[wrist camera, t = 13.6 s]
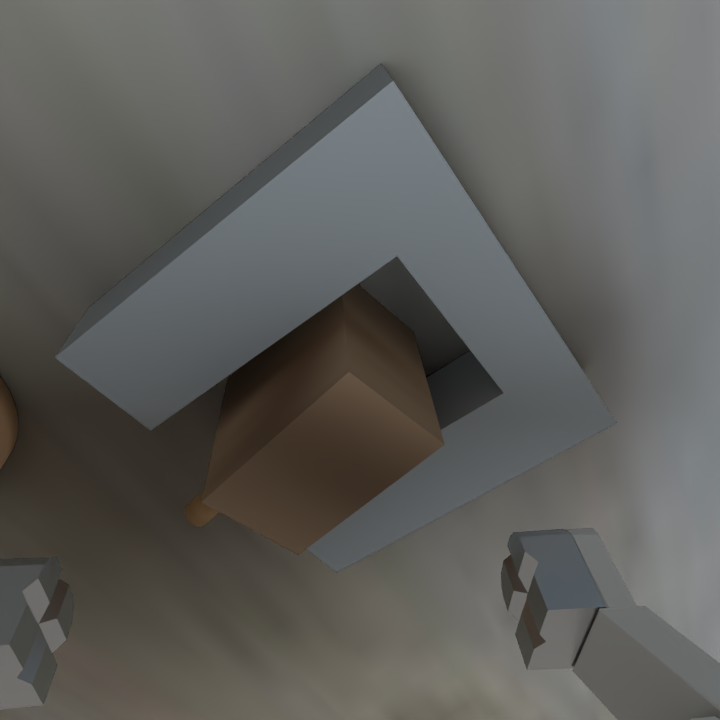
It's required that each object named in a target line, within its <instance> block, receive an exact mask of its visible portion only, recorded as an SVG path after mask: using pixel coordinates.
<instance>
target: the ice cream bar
mask: <svg viewBox="0 0 720 720" xmlns="http://www.w3.org/2000/svg"><path fill="white" fill-rule="evenodd" d="M444 445H445V444H444V440H443V437H442V433H441V429H440V426H439V422H438V419H437V415H436V411H435V408H434V404H433V400H432V397H431V393H430V390H429V386H428V382H427V379H426V375H425V371H424V368H423V364H422V361H421V357H420V353H419V350H418V346H417V342H416V339H415V335H414V332H413V331H412V330H411V329H409V328H408V327H407V326H406V325H405V324H404V323H403V322H401V321H400V320H399V319H398V318H397V317H396V316H394V315H393V314H392V313H391V312H390V311H389V310H387V309H386V308H385V307H384V306H383V305H382V304H380V303H379V302H378V301H377V300H376V299H375V298H373V297H372V296H371V295H370V294H369V293H368V292H367V291H365V290H364V289H363V288H362V287H361V286H360V285H358V284H357V285H356V286H354V287H353V288H351V289H350V290H348V291H347V292H346V293H344V294H343V295H341V296H340V297H339V298H337V299H336V300H334V301H333V302H332V303H330V304H329V305H327V306H326V307H324V308H323V309H322V310H320V311H319V312H317V313H316V314H315V315H313V316H312V317H310V318H309V319H308V320H306V321H305V322H303V323H302V324H301V325H299V326H298V327H296V328H295V329H293V330H292V331H291V332H289V333H288V334H286V335H285V336H284V337H282V338H281V339H279V340H278V341H277V342H275V343H274V344H272V345H271V346H269V347H268V348H267V349H265V350H264V351H262V352H261V353H260V354H258V355H257V356H255V357H254V358H253V359H251V360H250V361H248V362H247V363H246V364H244V365H243V366H241V367H240V368H239V369H238V370H237V371H236V372H235V373H234V374H232V375H231V376H230V377H229V378H228V380H227V385H226V389H225V394H224V399H223V403H222V408H221V413H220V417H219V422H218V427H217V431H216V436H215V441H214V445H213V450H212V455H211V459H210V464H209V468H208V473H207V478H206V482H205V487H204V490H203V491H202V492H201V493H200V494H199V495H198V496H197V497H195V498H194V499H193V500H192V501H191V502H190V503H189V504H188V505H187V506H186V507H185V516H186V518H187V520H188V521H189V522H190V523H191V524H192V525H194V526H197V527H202V526H204V525H205V524H206V523H208V522H209V521H210V520H211V519H212V518H213V517H215V516H216V515H217V514H218V513H219V512H220V513H222V514H224V515H226V516H228V517H229V518H231V519H233V520H235V521H237V522H239V523H240V524H242V525H244V526H246V527H248V528H249V529H251V530H253V531H255V532H257V533H259V534H260V535H262V536H264V537H266V538H268V539H270V540H271V541H273V542H275V543H277V544H279V545H281V546H282V547H284V548H286V549H288V550H290V551H292V552H293V553H295V554H297V555H299V554H300V553H302V552H303V551H304V550H306V549H307V548H308V547H310V546H311V545H312V544H314V543H315V542H316V541H318V540H319V539H320V538H322V537H323V536H324V535H326V534H327V533H328V532H330V531H331V530H332V529H334V528H335V527H336V526H337V525H339V524H340V523H341V522H343V521H344V520H345V519H347V518H348V517H349V516H351V515H352V514H353V513H355V512H356V511H357V510H359V509H360V508H361V507H363V506H364V505H365V504H367V503H368V502H369V501H371V500H372V499H373V498H375V497H376V496H377V495H379V494H380V493H381V492H383V491H384V490H385V489H387V488H388V487H389V486H391V485H392V484H393V483H395V482H396V481H397V480H399V479H400V478H401V477H403V476H404V475H405V474H407V473H408V472H409V471H411V470H412V469H413V468H415V467H416V466H417V465H419V464H420V463H421V462H423V461H424V460H425V459H426V458H428V457H429V456H430V455H432V454H433V453H434V452H436V451H437V450H438V449H440V448H441V447H442V446H444Z"/></svg>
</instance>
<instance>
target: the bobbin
mask: <svg viewBox="0 0 720 720" xmlns="http://www.w3.org/2000/svg"><path fill="white" fill-rule="evenodd" d="M17 435H18V416H17V410H16V407H15V404H14V401H13V398H12V396H11V394H10V392H9V390H8V388H7V386H6V385H5V383H4V382H3V380H2V379H1V377H0V469H1V468H2V466H3V465H4V463H5V461H6V460H7V458H8V457H9V455H10V453H11V452H12V450H13V448H14V445H15V443H16V439H17Z"/></svg>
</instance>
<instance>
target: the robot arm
mask: <svg viewBox="0 0 720 720" xmlns="http://www.w3.org/2000/svg"><path fill="white" fill-rule="evenodd" d="M508 548H509V551H510V554H511V555H510V556H509V557H507V558H506V559H505V560H504V561H503V566H502V571H501V586H502V592H503V597H504V601H505V604H506V607H507V611H508V612H509V613H510V614H511V615H512V616H513V617H514V618H515V619H516V620H518V621H519V623H518V627H517V630H516V634H515V635H516V638H517V641H518V644H519V647H520V651H521V654H522V657H523V660H524V663H525V666H526V669H527V670H542V669H564V668H574V669H573V672H574V673H575V674H576V675H577V676H578V677H579V678H580V679H581V680H582V681H583V682H584V683H585V685H586V686H587V687H588V688H589V689H590V690H591V691H592V692H593V693H594V694H595V695H596V696H597V698H598V699H599V700H600V701H601V702H602V703H603V704H604V705H605V706H606V707H607V708H608V710H609V711H610V712H611V713H612V714H613V715H614V716H615V717H616V718H617V719H618V720H720V663H719V662H717V661H716V660H715V659H713V658H712V657H711V656H710V655H708V654H707V653H706V652H704V651H703V650H702V649H700V648H699V647H698V646H697V645H695V644H694V643H693V642H691V641H690V640H689V639H687V638H686V637H685V636H684V635H682V634H681V633H680V632H678V631H677V630H676V629H674V628H673V627H672V626H671V625H669V624H668V623H667V622H665V621H664V620H663V619H661V618H660V617H659V616H658V615H656V614H655V613H654V612H652V611H651V610H650V609H648V608H647V607H646V606H637V605H636V603H635V601H634V599H633V598H632V596H631V594H630V592H629V590H628V588H627V586H626V585H625V583H624V581H623V579H622V577H621V575H620V573H619V571H618V570H617V568H616V566H615V564H614V562H613V560H612V558H611V557H610V555H609V553H608V551H607V549H606V547H605V545H604V544H603V542H602V540H601V538H600V536H599V534H598V533H597V532H596V531H595V530H594V529H593V528H583V529H567V530H564V529H556V530H541V531H526V532H514V533H513V534H512V535H511V536H510V538H509V542H508ZM62 570H63V569H62V567H61V565H60V563H59V561H58V559H57V557H51V558H15V559H0V710H2V709H12V708H22V707H32V706H42V705H44V702H45V699H46V696H47V693H48V691H49V688H50V685H51V682H52V679H53V677H54V674H55V671H56V668H57V663H56V661H55V658H54V656H53V652H54V651H55V650H56V649H57V648H58V647H59V646H61V645H62V644H63V643H64V642H65V641H66V639H67V636H68V633H69V630H70V627H71V624H72V618H73V610H74V601H73V594H72V591H71V588H70V586H69V585H68V584H67V583H65V582H63V581H62V580H60V579H59V577H60V575H61V572H62Z"/></svg>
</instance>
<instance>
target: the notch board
mask: <svg viewBox="0 0 720 720" xmlns="http://www.w3.org/2000/svg"><path fill="white" fill-rule="evenodd" d="M396 256H397V257H398V258H399V259H400V261H401V262H402V263H403V264H404V266H405V267H406V268H407V270H408V271H409V272H410V273H411V275H412V276H413V277H414V279H415V280H416V281H417V282H418V284H419V285H420V286H421V288H422V289H423V290H424V291H425V293H426V294H427V295H428V297H429V298H430V299H431V300H432V302H433V303H434V304H435V306H436V307H437V308H438V309H439V311H440V312H441V313H442V315H443V316H444V317H445V318H446V320H447V321H448V322H449V324H450V325H451V326H452V327H453V329H454V330H455V331H456V333H457V334H458V335H459V336H460V338H461V339H462V340H463V342H464V343H465V344H466V345H467V347H468V348H469V349H470V351H468V352H467V353H465V354H464V355H462V356H460V357H459V358H457V359H455V360H454V361H452V362H451V363H449V364H447V365H446V366H444V367H443V368H441V369H439V370H438V371H436V372H435V373H433V374H431V375H430V376H428V377H427V378H426V379H427V382H428V386H429V390H430V393H431V397H432V400H433V404H434V408H435V411H436V415H437V419H438V422H439V426H440V429H441V433H442V437H443V440H444V444H445V445H444V446H442V447H441V448H440V449H438V450H437V451H436V452H434V453H433V454H432V455H430V456H429V457H428V458H426V459H425V460H424V461H423V462H421V463H420V464H419V465H417V466H416V467H415V468H413V469H412V470H411V471H409V472H408V473H407V474H405V475H404V476H403V477H401V478H400V479H399V480H397V481H396V482H395V483H393V484H392V485H391V486H389V487H388V488H387V489H385V490H384V491H383V492H381V493H380V494H379V495H377V496H376V497H375V498H373V499H372V500H371V501H369V502H368V503H367V504H365V505H364V506H363V507H361V508H360V509H359V510H357V511H356V512H355V513H353V514H352V515H351V516H349V517H348V518H347V519H345V520H344V521H343V522H341V523H340V524H339V525H337V526H336V527H335V528H334V529H332V530H331V531H330V532H328V533H327V534H326V535H324V536H323V537H322V538H320V539H319V540H318V541H316V542H315V543H314V544H312V545H311V546H310V547H308V548H307V550H308V551H309V552H311V553H312V554H313V555H314V556H316V557H317V558H318V559H320V560H321V561H322V562H324V563H325V564H326V565H328V566H329V567H330V568H332V569H333V570H334V571H335V572H339V571H341V570H342V569H344V568H346V567H348V566H350V565H352V564H354V563H356V562H357V561H359V560H361V559H363V558H365V557H367V556H369V555H371V554H372V553H374V552H376V551H378V550H380V549H382V548H384V547H385V546H387V545H389V544H391V543H393V542H395V541H397V540H399V539H400V538H402V537H404V536H406V535H408V534H410V533H412V532H413V531H415V530H417V529H419V528H421V527H423V526H425V525H427V524H428V523H430V522H432V521H434V520H436V519H438V518H440V517H442V516H443V515H445V514H447V513H449V512H451V511H453V510H455V509H456V508H458V507H460V506H462V505H464V504H466V503H468V502H470V501H471V500H473V499H475V498H477V497H479V496H481V495H483V494H485V493H486V492H488V491H490V490H492V489H494V488H496V487H498V486H499V485H501V484H503V483H505V482H507V481H509V480H511V479H513V478H514V477H516V476H518V475H520V474H522V473H524V472H526V471H528V470H529V469H531V468H533V467H535V466H537V465H539V464H541V463H542V462H544V461H546V460H548V459H550V458H552V457H554V456H556V455H557V454H559V453H561V452H563V451H565V450H567V449H569V448H571V447H572V446H574V445H576V444H578V443H580V442H582V441H584V440H585V439H587V438H589V437H591V436H593V435H595V434H597V433H599V432H600V431H602V430H604V429H606V428H608V427H610V426H612V425H614V424H615V423H617V422H616V420H615V419H614V417H613V416H612V414H611V413H610V411H609V410H608V408H607V407H606V405H605V404H604V402H603V401H602V399H601V398H600V396H599V394H598V393H597V391H596V390H595V388H594V387H593V385H592V384H591V382H590V381H589V379H588V378H587V376H586V375H585V373H584V371H583V370H582V368H581V367H580V365H579V364H578V362H577V361H576V359H575V358H574V356H573V355H572V353H571V352H570V350H569V349H568V347H567V345H566V344H565V342H564V341H563V339H562V338H561V336H560V335H559V333H558V332H557V330H556V329H555V327H554V326H553V324H552V323H551V321H550V319H549V318H548V316H547V315H546V313H545V312H544V310H543V309H542V307H541V306H540V304H539V303H538V301H537V300H536V298H535V297H534V295H533V293H532V292H531V290H530V289H529V287H528V286H527V284H526V283H525V281H524V280H523V278H522V277H521V275H520V274H519V272H518V270H517V269H516V267H515V266H514V264H513V263H512V261H511V260H510V258H509V257H508V255H507V254H506V252H505V251H504V249H503V248H502V246H501V244H500V243H499V241H498V240H497V238H496V237H495V235H494V234H493V232H492V231H491V229H490V228H489V226H488V225H487V223H486V222H485V220H484V218H483V217H482V215H481V214H480V212H479V211H478V209H477V208H476V206H475V205H474V203H473V202H472V200H471V199H470V197H469V196H468V194H467V192H466V191H465V189H464V188H463V186H462V185H461V183H460V182H459V180H458V179H457V177H456V176H455V174H454V173H453V171H452V169H451V168H450V166H449V165H448V163H447V162H446V160H445V159H444V157H443V156H442V154H441V153H440V151H439V150H438V148H437V147H436V145H435V143H434V142H433V140H432V139H431V137H430V136H429V134H428V133H427V131H426V130H425V128H424V127H423V125H422V124H421V122H420V121H419V119H418V117H417V116H416V114H415V113H414V111H413V110H412V108H411V107H410V105H409V104H408V102H407V101H406V99H405V98H404V96H403V95H402V93H401V91H400V90H399V88H398V87H397V85H396V84H395V82H394V81H393V79H392V78H391V77H390V75H389V74H388V72H387V71H386V70H385V68H384V67H383V66H382V64H380V65H379V66H378V67H376V68H375V69H374V70H373V71H372V72H370V73H369V74H368V75H367V76H366V77H364V78H363V79H362V80H361V81H360V82H358V83H357V84H356V85H355V86H354V87H352V88H351V89H350V90H349V91H348V92H346V93H345V94H344V95H343V96H342V97H340V98H339V99H338V100H337V101H336V102H334V103H333V104H332V105H331V106H330V107H328V108H327V109H326V110H325V111H324V112H322V113H321V114H320V115H319V116H318V117H316V118H315V119H314V120H313V121H312V122H310V123H309V124H308V125H307V126H306V127H304V128H303V129H302V130H301V131H300V132H298V133H297V134H296V135H295V136H294V137H293V138H291V139H290V140H289V141H288V142H287V143H285V144H284V145H283V146H282V147H281V148H279V149H278V150H277V151H276V152H275V153H273V154H272V155H271V156H270V157H269V158H267V159H266V160H265V161H264V162H263V163H261V164H260V165H259V166H258V167H257V168H255V169H254V170H253V171H252V172H251V173H249V174H248V175H247V176H246V177H245V178H243V179H242V180H241V181H240V182H239V183H237V184H236V185H235V186H234V187H233V188H231V189H230V190H229V191H228V192H227V193H225V194H224V195H223V196H222V197H221V198H219V199H218V200H217V201H216V202H215V203H213V204H212V205H211V206H210V207H209V208H207V209H206V210H205V211H204V212H203V213H201V214H200V215H199V216H198V217H197V218H195V219H194V220H193V221H192V222H191V223H190V224H188V225H187V226H186V227H185V228H184V229H182V230H181V231H180V232H179V233H178V234H176V235H175V236H174V237H173V238H172V239H170V240H169V241H168V242H167V243H166V244H164V245H163V246H162V247H161V248H160V249H158V250H157V251H156V252H155V253H154V254H152V255H151V256H150V257H149V258H148V259H146V260H145V261H144V262H143V263H142V264H140V265H139V266H138V267H137V268H136V269H134V270H133V271H132V272H131V273H130V274H128V275H127V276H126V277H125V278H124V279H122V280H121V281H120V282H119V283H118V284H116V285H115V286H114V287H113V288H112V289H110V290H109V291H108V292H107V293H106V294H104V295H103V296H102V297H101V298H100V299H98V300H97V301H96V302H95V303H94V304H93V305H91V306H90V307H89V308H88V309H87V311H86V312H85V314H84V315H83V317H82V318H81V320H80V321H79V323H78V324H77V325H76V327H75V328H74V330H73V331H72V333H71V334H70V336H69V337H68V339H67V340H66V342H65V343H64V345H63V346H62V348H61V349H60V351H59V352H58V353H57V355H56V356H55V358H56V359H57V360H58V361H60V362H61V363H62V364H64V365H65V366H66V367H68V368H69V369H70V370H72V371H73V372H74V373H75V374H77V375H78V376H79V377H81V378H82V379H83V380H85V381H86V382H87V383H89V384H90V385H91V386H93V387H94V388H95V389H96V390H98V391H99V392H100V393H102V394H103V395H104V396H106V397H107V398H108V399H110V400H111V401H112V402H114V403H115V404H116V405H118V406H119V407H120V408H121V409H123V410H124V411H125V412H127V413H128V414H129V415H131V416H132V417H133V418H135V419H136V420H137V421H139V422H140V423H141V424H142V425H144V426H145V427H146V428H148V429H149V430H150V431H151V430H152V429H154V428H155V427H157V426H158V425H159V424H161V423H162V422H164V421H165V420H167V419H168V418H169V417H171V416H172V415H174V414H175V413H176V412H178V411H179V410H181V409H182V408H183V407H185V406H186V405H188V404H189V403H190V402H192V401H193V400H195V399H196V398H198V397H199V396H200V395H202V394H203V393H205V392H206V391H207V390H209V389H210V388H212V387H213V386H214V385H216V384H217V383H219V382H220V381H222V380H223V379H224V378H226V377H227V376H229V375H230V374H231V373H233V372H234V371H236V370H237V369H238V368H240V367H241V366H243V365H244V364H246V363H247V362H248V361H250V360H251V359H253V358H254V357H255V356H257V355H258V354H260V353H261V352H262V351H264V350H265V349H267V348H268V347H269V346H271V345H272V344H274V343H275V342H277V341H278V340H279V339H281V338H282V337H284V336H285V335H286V334H288V333H289V332H291V331H292V330H293V329H295V328H296V327H298V326H299V325H301V324H302V323H303V322H305V321H306V320H308V319H309V318H310V317H312V316H313V315H315V314H316V313H317V312H319V311H320V310H322V309H323V308H324V307H326V306H327V305H329V304H330V303H332V302H333V301H334V300H336V299H337V298H339V297H340V296H341V295H343V294H344V293H346V292H347V291H348V290H350V289H351V288H353V287H354V286H356V285H357V284H358V283H360V282H361V281H363V280H364V279H365V278H367V277H368V276H370V275H371V274H372V273H374V272H375V271H377V270H378V269H380V268H381V267H382V266H384V265H385V264H387V263H388V262H389V261H391V260H392V259H394V258H395V257H396Z"/></svg>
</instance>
